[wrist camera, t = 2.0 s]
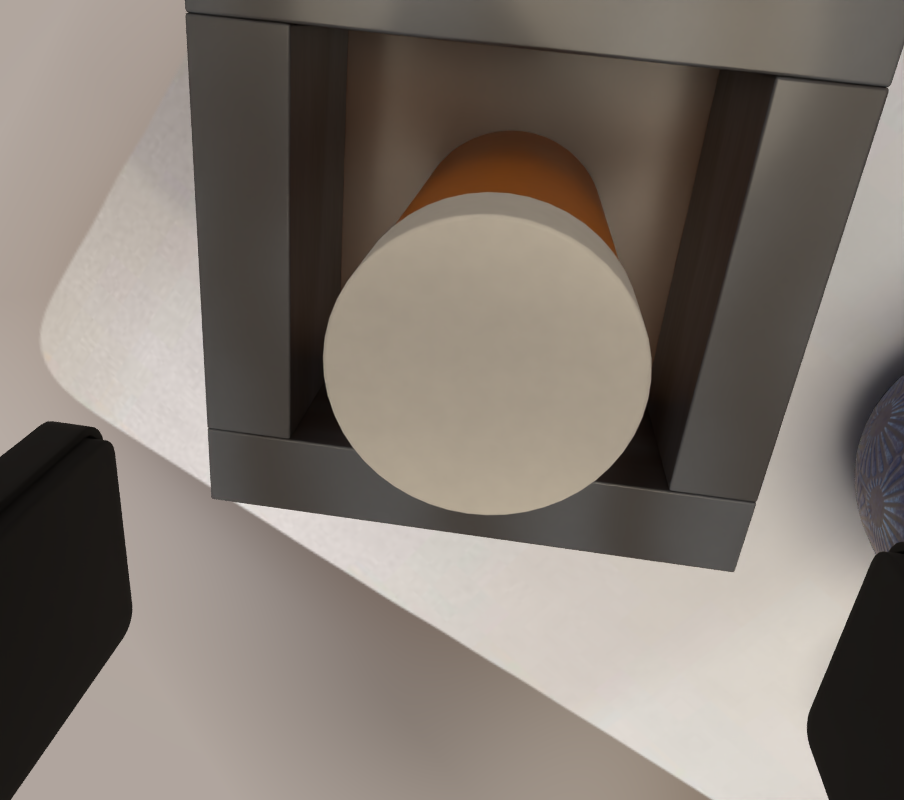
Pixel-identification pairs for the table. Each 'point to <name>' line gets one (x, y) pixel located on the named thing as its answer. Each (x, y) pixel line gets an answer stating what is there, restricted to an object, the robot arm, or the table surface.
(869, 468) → the planter
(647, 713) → the table surface
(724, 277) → the metal storage bin
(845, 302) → the table surface
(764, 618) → the table surface
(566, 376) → the medicine bottle
